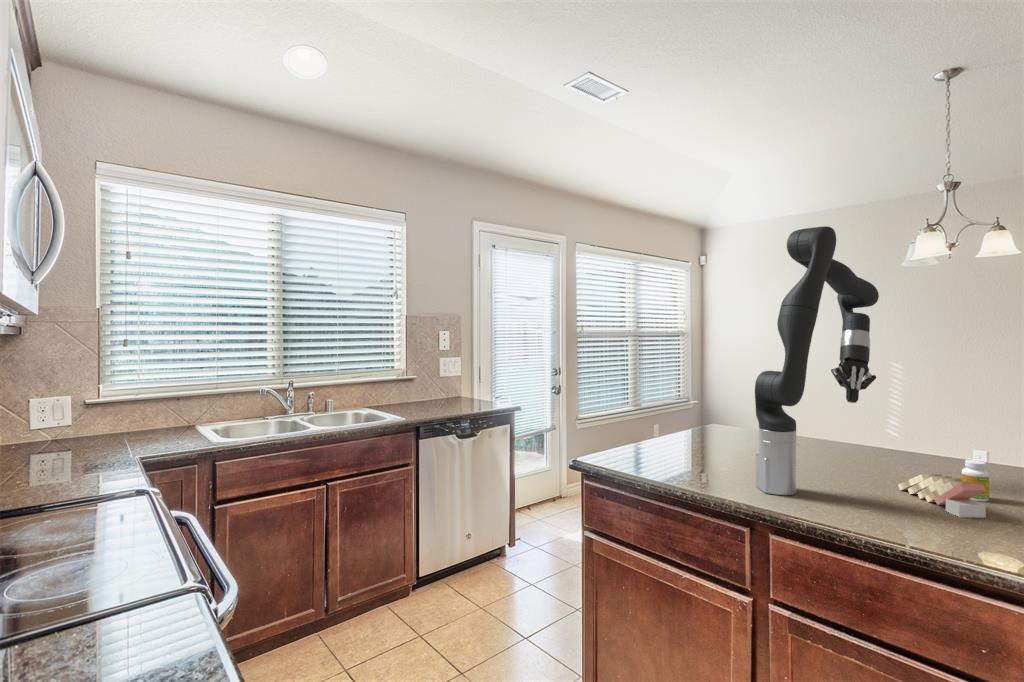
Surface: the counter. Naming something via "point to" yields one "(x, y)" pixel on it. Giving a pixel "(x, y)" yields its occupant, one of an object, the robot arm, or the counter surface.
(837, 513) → the counter surface
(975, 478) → the supplement bottle
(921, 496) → the domino
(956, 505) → the block
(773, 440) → the robot arm
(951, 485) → the domino
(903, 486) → the domino
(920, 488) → the domino
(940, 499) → the domino
